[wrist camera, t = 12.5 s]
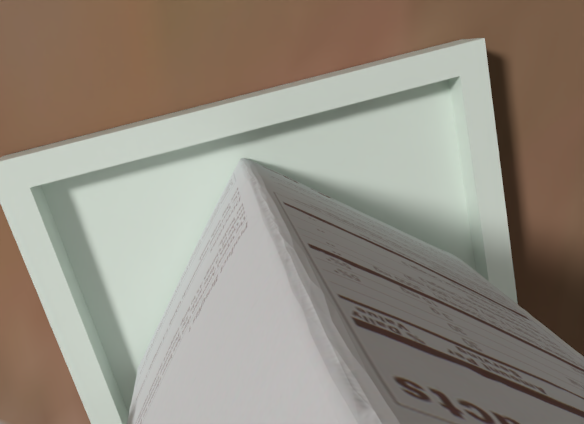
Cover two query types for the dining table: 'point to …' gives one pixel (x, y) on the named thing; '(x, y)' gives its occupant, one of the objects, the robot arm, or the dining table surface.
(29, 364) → the dining table surface
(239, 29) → the dining table surface
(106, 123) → the dining table surface
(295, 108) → the pale green square tray
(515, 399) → the supplement box
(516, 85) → the dining table surface
